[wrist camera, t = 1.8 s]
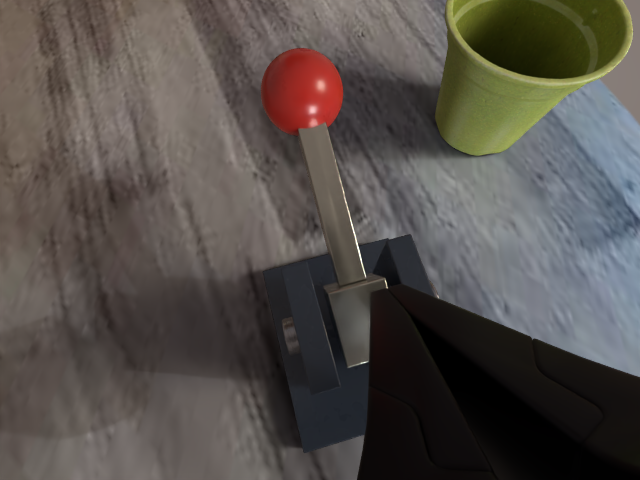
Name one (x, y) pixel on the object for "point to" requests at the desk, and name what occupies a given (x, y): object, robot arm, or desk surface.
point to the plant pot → (521, 64)
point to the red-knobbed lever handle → (324, 186)
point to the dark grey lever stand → (330, 339)
